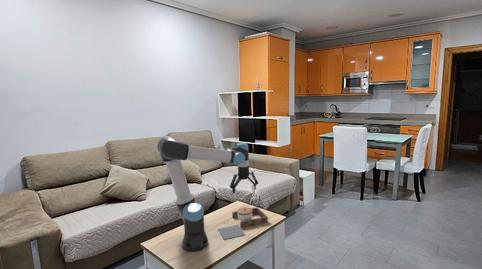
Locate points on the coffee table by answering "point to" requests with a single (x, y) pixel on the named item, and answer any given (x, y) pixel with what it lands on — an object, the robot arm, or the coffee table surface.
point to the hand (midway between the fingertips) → (244, 195)
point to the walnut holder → (252, 222)
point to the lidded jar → (244, 213)
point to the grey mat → (231, 232)
